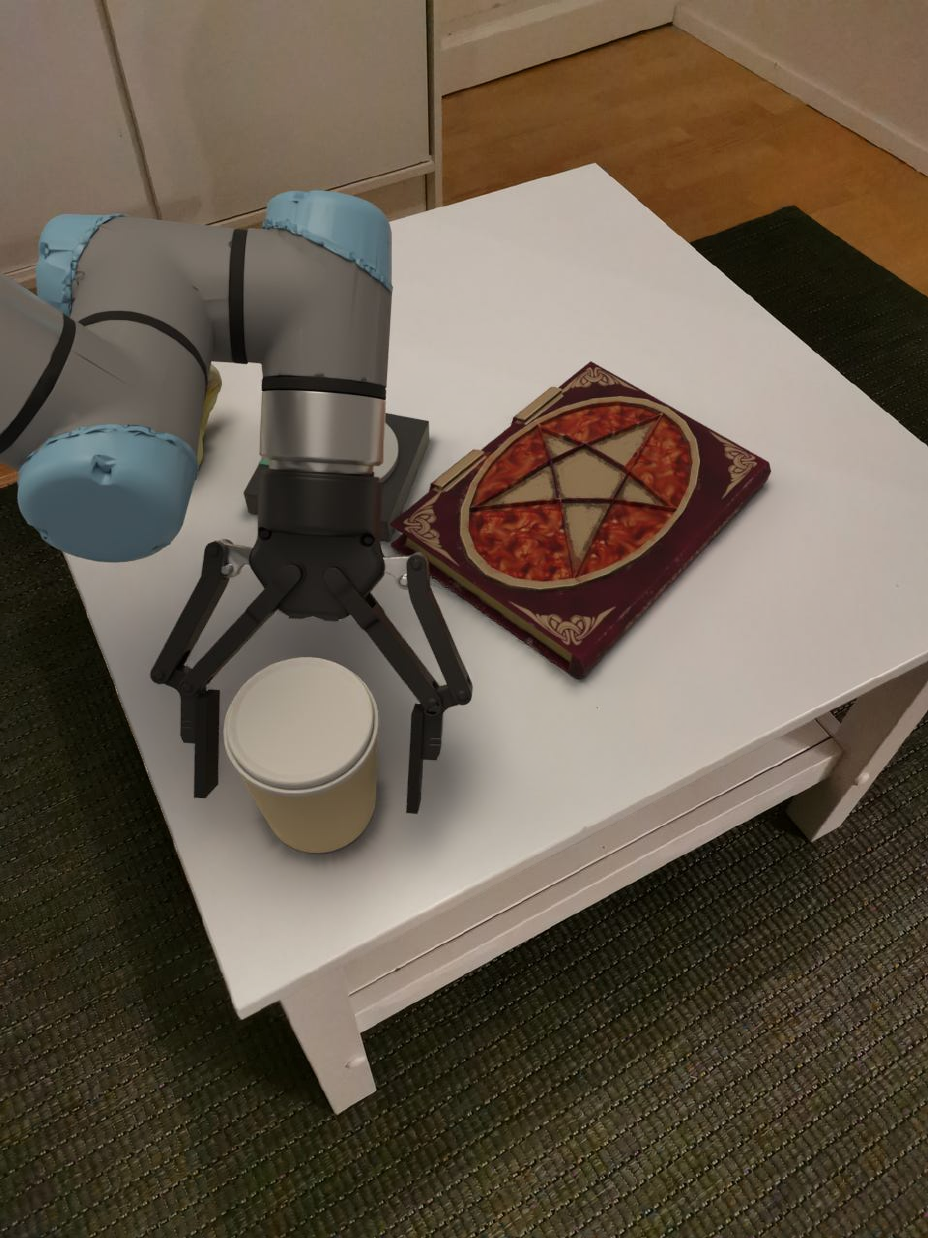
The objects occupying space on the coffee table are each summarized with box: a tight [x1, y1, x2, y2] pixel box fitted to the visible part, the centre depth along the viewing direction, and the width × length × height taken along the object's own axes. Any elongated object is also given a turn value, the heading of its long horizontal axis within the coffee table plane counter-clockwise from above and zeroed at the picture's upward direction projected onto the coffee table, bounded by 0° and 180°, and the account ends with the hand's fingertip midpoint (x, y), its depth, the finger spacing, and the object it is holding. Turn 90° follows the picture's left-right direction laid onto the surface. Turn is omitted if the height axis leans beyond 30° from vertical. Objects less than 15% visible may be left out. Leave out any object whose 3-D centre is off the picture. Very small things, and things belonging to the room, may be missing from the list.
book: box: [390, 360, 772, 679], centre depth 80 cm, size 28×21×5 cm
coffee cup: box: [223, 656, 380, 854], centre depth 60 cm, size 9×9×12 cm
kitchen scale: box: [243, 412, 430, 542], centre depth 82 cm, size 13×13×3 cm
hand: (309, 799), depth 60 cm, fingers open, 13 cm apart
